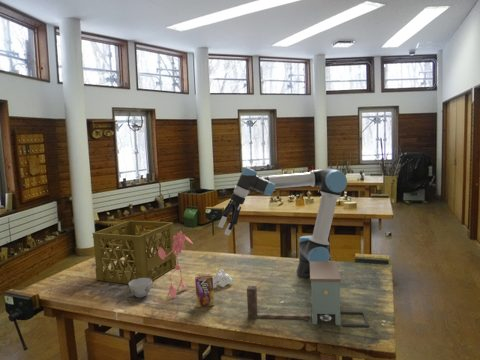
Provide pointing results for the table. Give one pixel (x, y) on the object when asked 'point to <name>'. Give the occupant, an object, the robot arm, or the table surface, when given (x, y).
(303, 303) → the table surface
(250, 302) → the pusher stick
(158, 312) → the table surface
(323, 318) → the steel disc
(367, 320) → the rubber bay
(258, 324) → the table surface
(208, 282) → the candy box
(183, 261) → the table surface
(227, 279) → the crumpled paper ball
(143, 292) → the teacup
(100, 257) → the milk crate
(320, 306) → the cabinet
